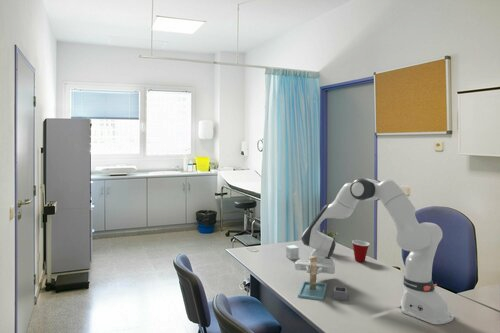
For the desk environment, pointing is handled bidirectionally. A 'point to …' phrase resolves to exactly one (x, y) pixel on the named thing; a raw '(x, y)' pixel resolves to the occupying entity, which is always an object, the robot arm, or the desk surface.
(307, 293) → the tray
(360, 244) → the plastic cup
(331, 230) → the house plant
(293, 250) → the product box
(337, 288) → the square cup
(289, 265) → the desk surface
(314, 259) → the beech pin
